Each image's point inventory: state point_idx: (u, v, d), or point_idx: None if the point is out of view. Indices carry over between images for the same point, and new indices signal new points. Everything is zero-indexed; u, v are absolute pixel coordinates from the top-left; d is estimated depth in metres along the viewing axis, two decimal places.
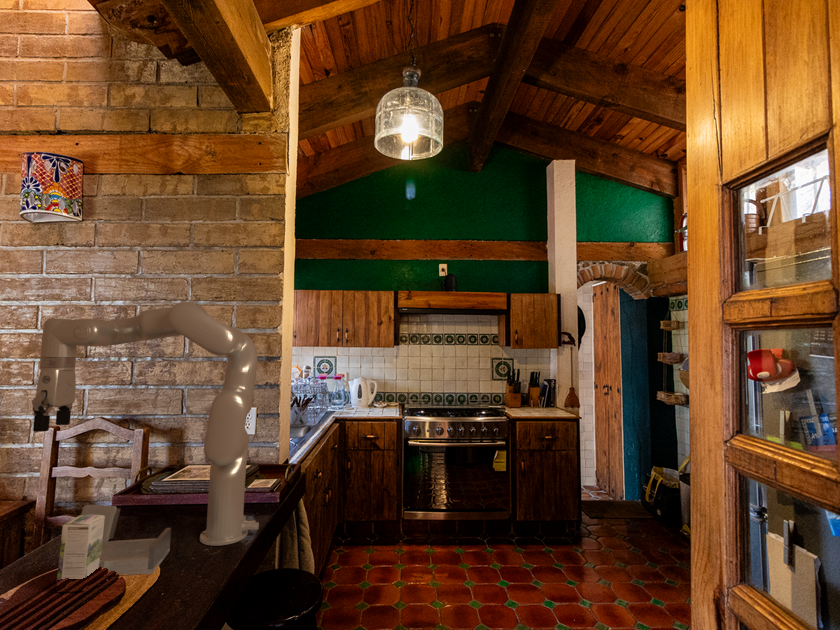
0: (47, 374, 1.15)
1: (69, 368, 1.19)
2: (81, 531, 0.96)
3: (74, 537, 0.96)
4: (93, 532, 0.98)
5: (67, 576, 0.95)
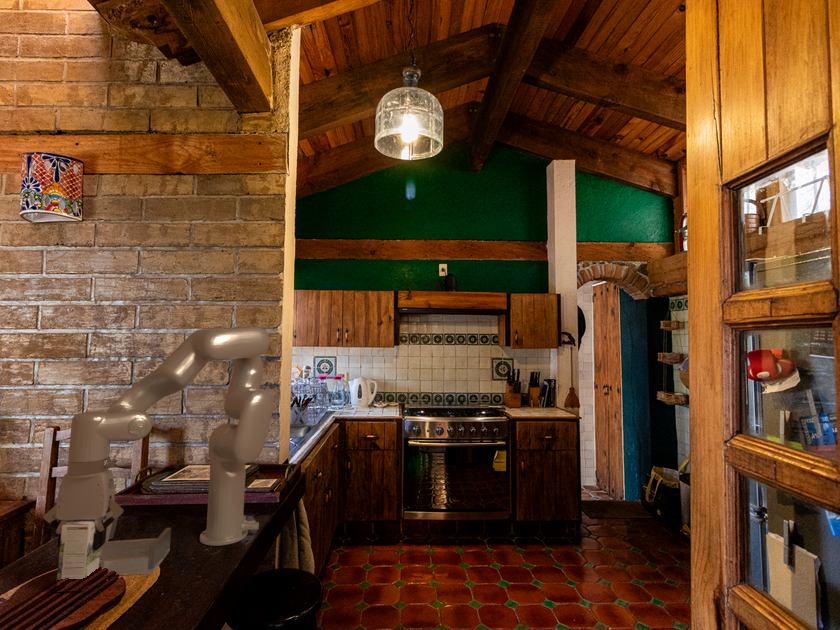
0: (110, 477, 1.01)
1: None
2: (80, 531, 0.96)
3: (73, 537, 0.96)
4: (92, 532, 0.98)
5: (67, 576, 0.95)
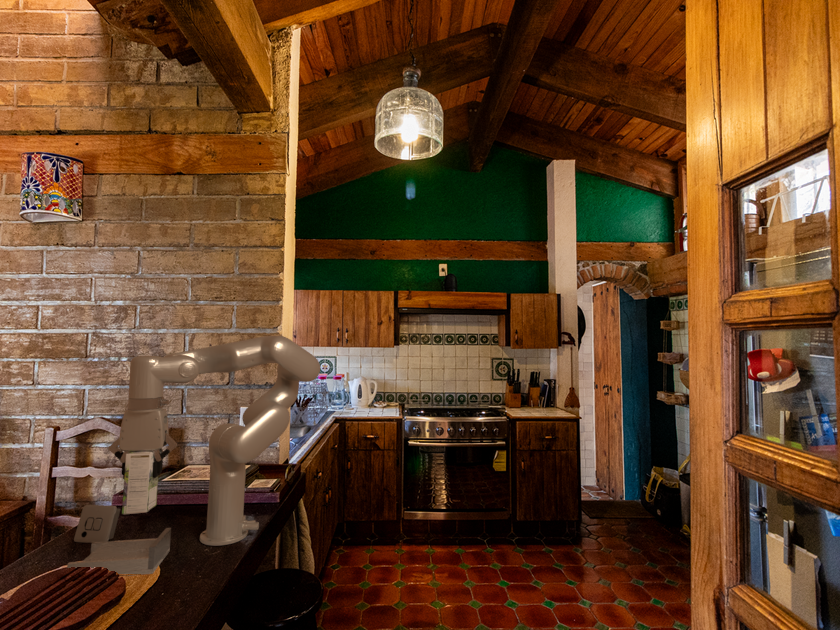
0: (165, 414, 1.13)
1: None
2: (143, 459, 1.08)
3: (137, 464, 1.08)
4: (152, 461, 1.10)
5: (132, 499, 1.07)
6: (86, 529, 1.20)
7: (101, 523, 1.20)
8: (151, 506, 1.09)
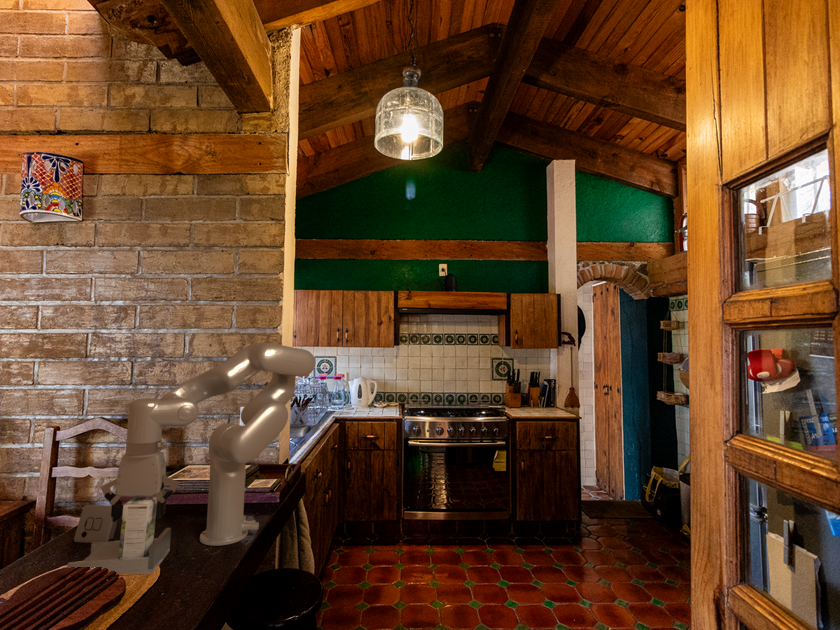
0: (163, 458, 1.12)
1: None
2: (140, 510, 1.07)
3: (134, 515, 1.06)
4: (150, 511, 1.09)
5: (128, 551, 1.06)
6: (86, 529, 1.20)
7: (101, 523, 1.20)
8: (147, 556, 1.08)
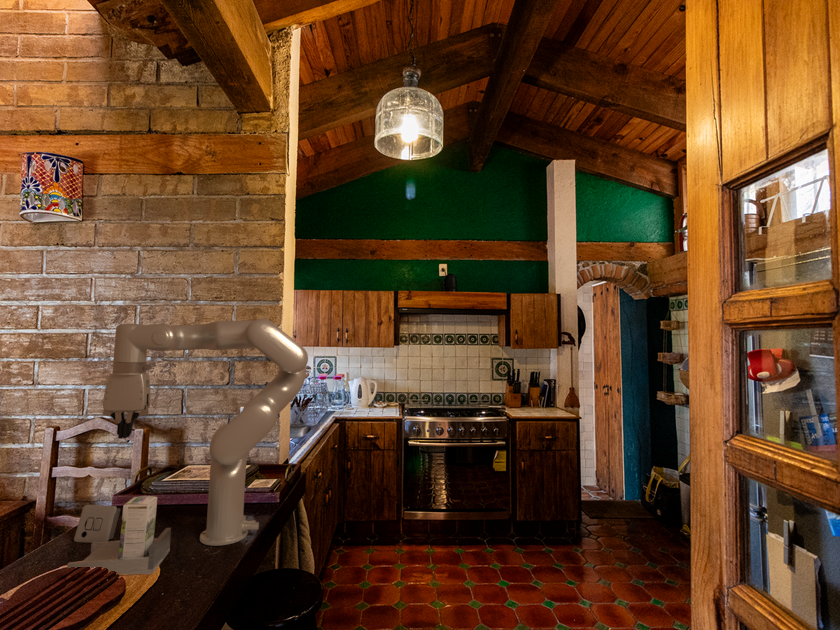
0: (147, 378, 1.20)
1: None
2: (140, 510, 1.07)
3: (134, 515, 1.06)
4: (150, 511, 1.09)
5: (128, 551, 1.06)
6: (86, 529, 1.20)
7: (101, 523, 1.20)
8: (147, 556, 1.08)
